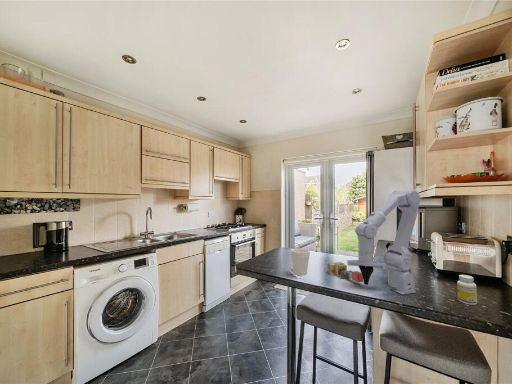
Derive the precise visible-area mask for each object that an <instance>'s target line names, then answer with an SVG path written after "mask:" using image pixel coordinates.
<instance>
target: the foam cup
mask: <svg viewBox="0 0 512 384" xmlns="http://www.w3.org/2000/svg"><path fill="white" fill-rule="evenodd" d="M310 254H311V253H310V249H306V248H300V247H299V248H292V249H290V255H291V264H292V272H293V275H294V274H295V275H297V276H307V274H308V267H309V259H310Z"/></svg>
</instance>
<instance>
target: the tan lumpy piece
mask: <svg viewBox="0 0 512 384" xmlns="http://www.w3.org/2000/svg"><path fill="white" fill-rule="evenodd" d="M347 266H348V265H346V264H345V263H344V264H336V265H334V273H335V274H337V275H341V272H340V268H341V271H343V270H347V268H348V267H347ZM347 271H348V270H347Z"/></svg>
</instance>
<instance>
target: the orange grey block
mask: <svg viewBox="0 0 512 384" xmlns="http://www.w3.org/2000/svg"><path fill="white" fill-rule="evenodd" d="M349 271H350V270H343V272H344V275H346V276H348V277H350V278H351V281H352V280H353V281H355V282H357V283H362V282H363V283H364V280H363V276H362V273H361V271H353V270H352V273H351V272H349Z"/></svg>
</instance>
